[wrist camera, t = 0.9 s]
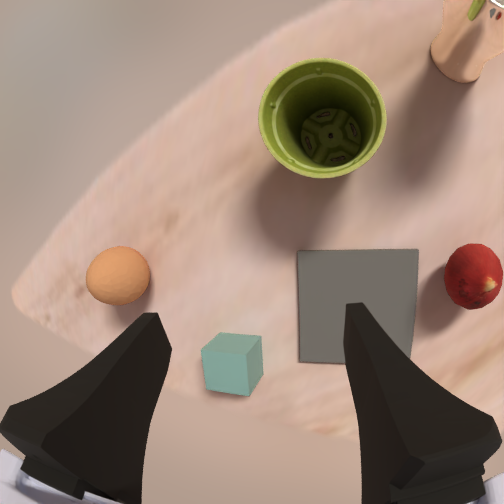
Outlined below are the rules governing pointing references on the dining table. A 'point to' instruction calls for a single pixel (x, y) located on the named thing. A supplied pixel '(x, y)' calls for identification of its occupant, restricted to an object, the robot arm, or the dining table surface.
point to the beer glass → (468, 37)
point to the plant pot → (317, 129)
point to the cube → (233, 363)
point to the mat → (354, 297)
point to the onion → (473, 276)
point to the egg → (118, 276)
